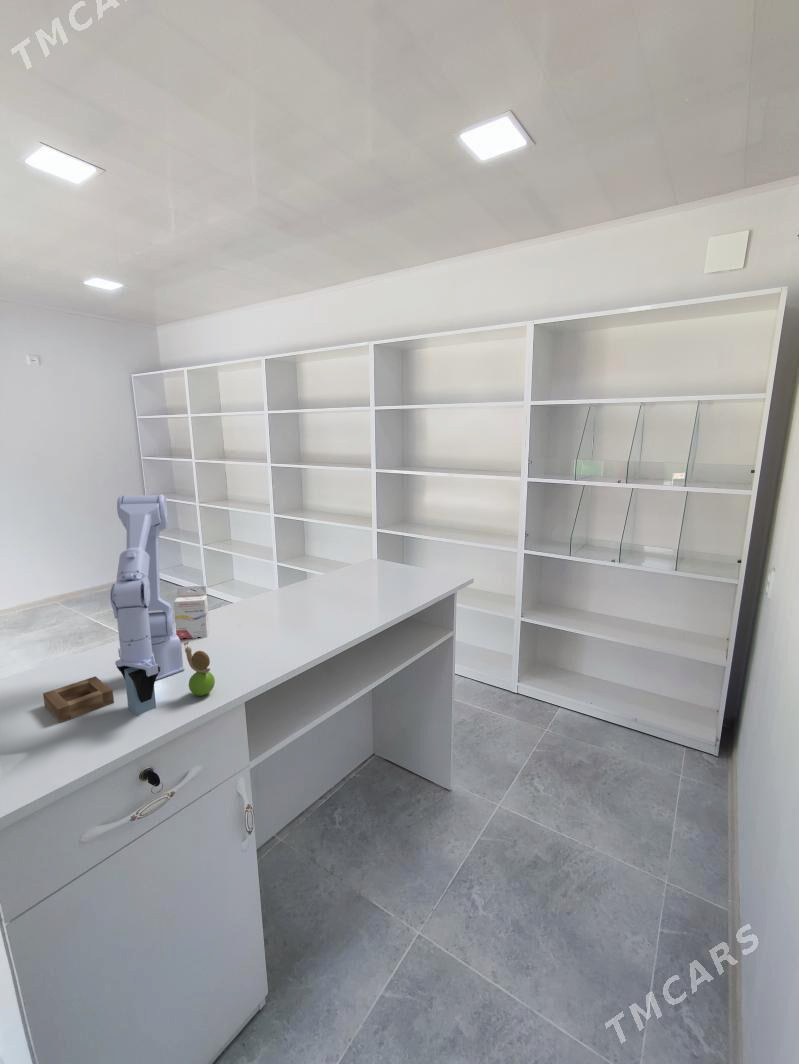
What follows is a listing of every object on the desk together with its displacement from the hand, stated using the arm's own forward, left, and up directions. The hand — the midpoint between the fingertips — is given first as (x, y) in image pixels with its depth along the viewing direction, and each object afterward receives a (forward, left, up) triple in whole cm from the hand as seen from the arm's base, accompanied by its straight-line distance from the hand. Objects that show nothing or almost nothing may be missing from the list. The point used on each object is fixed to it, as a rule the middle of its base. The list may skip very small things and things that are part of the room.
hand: (141, 696), depth 101 cm
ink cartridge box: (-27, -30, -3) cm, 40 cm away
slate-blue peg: (0, 0, -3) cm, 3 cm away
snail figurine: (-11, +4, -3) cm, 12 cm away
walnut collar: (+8, -12, -3) cm, 15 cm away
